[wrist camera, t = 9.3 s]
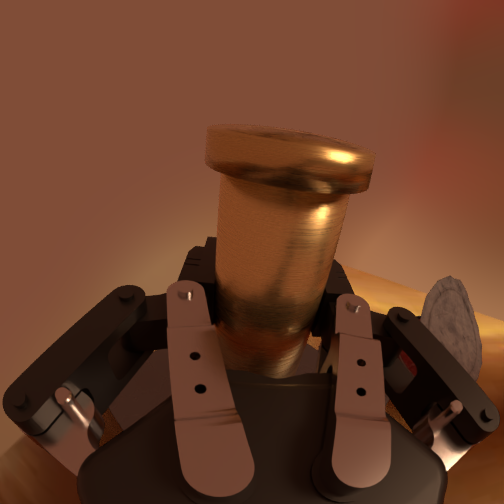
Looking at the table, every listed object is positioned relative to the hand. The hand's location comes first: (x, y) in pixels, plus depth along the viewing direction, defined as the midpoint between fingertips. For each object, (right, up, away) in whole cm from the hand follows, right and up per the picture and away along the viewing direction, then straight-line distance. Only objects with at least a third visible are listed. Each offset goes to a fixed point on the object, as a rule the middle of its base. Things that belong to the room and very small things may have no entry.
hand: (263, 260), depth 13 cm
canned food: (+16, -11, +8) cm, 21 cm away
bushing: (-1, -8, +1) cm, 8 cm away
